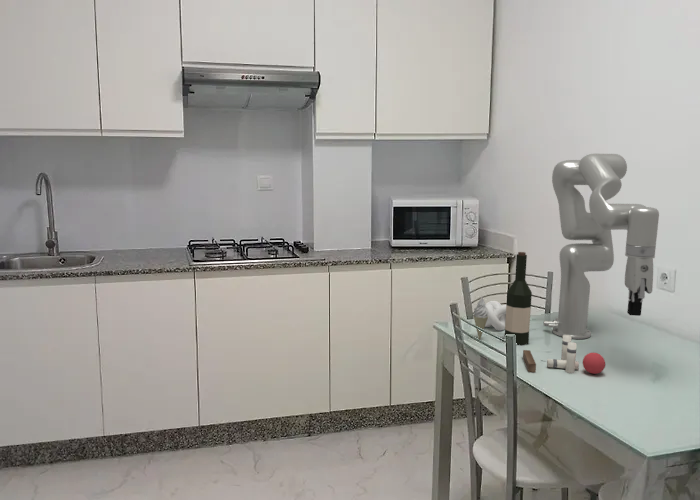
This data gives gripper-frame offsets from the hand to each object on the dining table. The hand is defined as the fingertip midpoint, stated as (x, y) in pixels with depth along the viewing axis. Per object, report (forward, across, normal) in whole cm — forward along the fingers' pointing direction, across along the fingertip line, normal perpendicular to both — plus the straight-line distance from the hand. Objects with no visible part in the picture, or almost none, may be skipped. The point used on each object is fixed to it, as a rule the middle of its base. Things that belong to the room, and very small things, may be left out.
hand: (633, 314), depth 171 cm
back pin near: (+17, -4, +17) cm, 24 cm away
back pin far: (+17, +3, +17) cm, 24 cm away
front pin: (+16, -1, +14) cm, 21 cm away
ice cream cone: (+17, +22, +41) cm, 50 cm away
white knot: (+17, +37, +34) cm, 53 cm away
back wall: (+17, 0, +28) cm, 33 cm away
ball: (+14, -4, +11) cm, 18 cm away
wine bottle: (+17, +22, +29) cm, 40 cm away
